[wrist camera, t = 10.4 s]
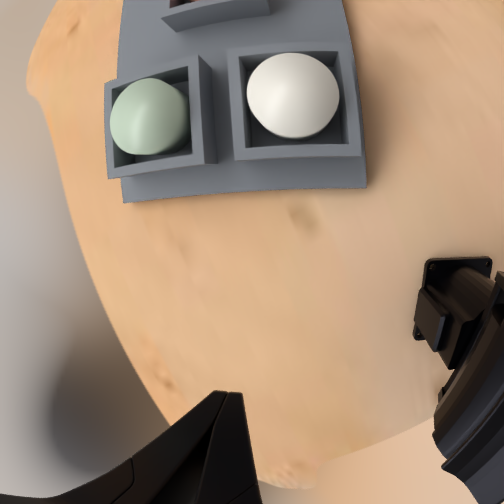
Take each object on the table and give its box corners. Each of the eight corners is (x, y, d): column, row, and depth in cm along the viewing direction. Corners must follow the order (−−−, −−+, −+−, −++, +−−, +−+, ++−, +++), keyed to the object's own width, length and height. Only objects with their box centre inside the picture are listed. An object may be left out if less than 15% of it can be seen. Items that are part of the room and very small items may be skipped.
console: (323, -49, 11) (324, -75, 7) (362, 187, 16) (377, 192, 13) (132, -14, 13) (111, -31, 10) (130, 201, 19) (102, 209, 16)
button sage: (195, 83, 15) (176, 69, 12) (199, 149, 16) (179, 147, 13) (135, 98, 16) (109, 90, 13) (138, 160, 17) (111, 160, 14)
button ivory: (327, 71, 13) (333, 52, 11) (335, 140, 15) (343, 134, 12) (253, 74, 14) (243, 56, 11) (258, 143, 15) (250, 138, 13)
